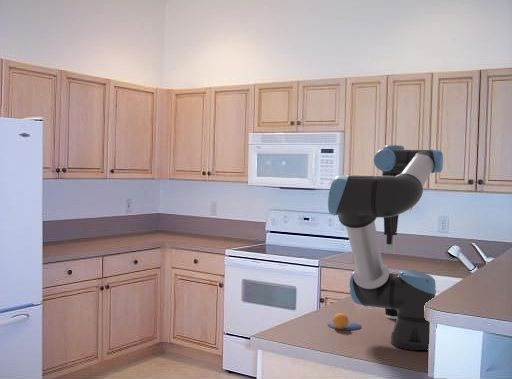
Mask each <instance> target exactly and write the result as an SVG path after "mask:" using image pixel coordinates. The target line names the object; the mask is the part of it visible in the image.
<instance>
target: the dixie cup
mask: <svg viewBox="0 0 512 379" xmlns="http://www.w3.org/2000/svg"><path fill="white" fill-rule="evenodd" d="M384 310H385V311H384V312H385V315H386V318H388V319H392V320H397V310H394V309H387V308H384Z"/></svg>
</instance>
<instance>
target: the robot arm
mask: <svg viewBox="0 0 512 379" xmlns="http://www.w3.org/2000/svg"><path fill="white" fill-rule="evenodd" d="M373 164H374V166H375V167H376V168H377V170H380V171H381V172H382V174H381V176H379V175H378V176H377V175H350V174H347V175H346V174H345V175H343V174H342V175H337V176H335V177H334V178H333V180H332V182H331V184H330V187H329V192H328V199H327V200H328V201H327V209H328V213H329V214H330V215H333V216H337V217H338V221H339V222H340V224H341V225H343V226H344V227H345V228H346V232H347V235H348V240H349V245H350V249H351V252H352V258H353V261H354V266H355V269H354V271H352V272H351V275H350V278H349V293H350V297H351V299H352V301H353V302H354V303H355V304H357V305H358V306H359V305H360V306H363V307H371V308H380V309H381V308H382V309H385V308H387V309H394V310H397V319H395V320H396V321H395V324H394V326H393V328H392V329H393V331H392V332H391V333H390V343H391V344H392V345H393V346H395V347H397V348H399V347H400V348H399V349H403V348H404V350H407V349H410V350H409V351H413V350H427V349H428V344H429V322H428V321H426V320H425V318H424V305H425V303H426V302H428V301H429V300H431V299H432V298H434V297H435V298H436V294H437V289H436V288H437V287H436V280H435V278H434V277H433V276H431V275H430V274H429V273H428V274H427V273H425V272H421V271H417V270H412V269H411V270H409V269H401V270H399V271H398V273H393V272H390V270H389V268H388V267H387V265H386V264H385V263H383V260H382V259H383V258H382V253H381V248H380V244H379V238H378V233H377V228H376V222H375V221H376V220H377V218H380V219H381V218H383V229H384V230H383V235H385V254H392V255H393V254H394V253H395V240H396V239H395V238H396V236H397V235H398V233H397V232H398V225H399V224H398V223H399V215H401V214H403V213H405V212H407V211H409V210H411V209H412V208H413V207H414V206H416V205H417V204H418V203H419V201H420V199H422V195H423V194H424V193H423V192H424V188H423V187H424V185H425V184H426V182H427V180H428V179H429V177H430V175H431V173H432V174H435V173H441V172H442V170H443V166H444V154H443V152H442V151H441V150H439V149H438V150H437V149H405V147H404V146H403V145H398V144H397V145H396V144H393V145H392V144H390V145H389V144H388V145H387V144H386V145H384V146H383V149H379V150H378V151H377V152H375V154H374V158H373Z"/></svg>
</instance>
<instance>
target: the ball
mask: <svg viewBox="0 0 512 379" xmlns="http://www.w3.org/2000/svg"><path fill="white" fill-rule="evenodd" d="M332 322H333V324H334V326H335V327H336V328H338V329H344V328H346V327H347V325H348V323H349V322H350V321H349V318H348V316H347V314H345V313H342V312H341V313H340V312H339V313H338V312H337V313H336V314H335V315H334V316H333V318H332ZM338 329H337V330H338Z"/></svg>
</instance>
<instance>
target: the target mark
mask: <svg viewBox="0 0 512 379" xmlns="http://www.w3.org/2000/svg"><path fill="white" fill-rule="evenodd" d="M327 326H328V327H329V328H331V329H334V330H339V331H358V330H360V329H362V325H361V324H360V323H357V322H352V321H349V323H348V325H347V327H346V328H344V329H338V328H336V327H335V326H334V324H333V321H329V322H328V323H327Z"/></svg>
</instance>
